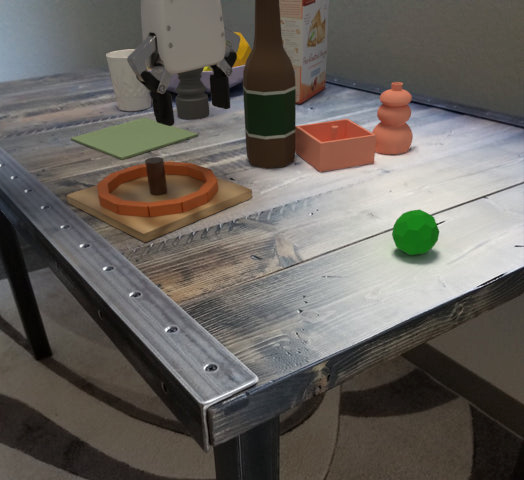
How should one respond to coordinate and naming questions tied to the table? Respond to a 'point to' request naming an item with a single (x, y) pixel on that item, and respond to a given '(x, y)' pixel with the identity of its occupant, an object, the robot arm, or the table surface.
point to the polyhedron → (415, 232)
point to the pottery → (357, 135)
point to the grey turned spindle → (191, 96)
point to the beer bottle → (269, 93)
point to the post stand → (154, 190)
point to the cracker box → (306, 43)
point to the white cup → (127, 83)
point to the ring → (160, 206)
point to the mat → (133, 138)
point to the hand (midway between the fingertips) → (194, 115)
